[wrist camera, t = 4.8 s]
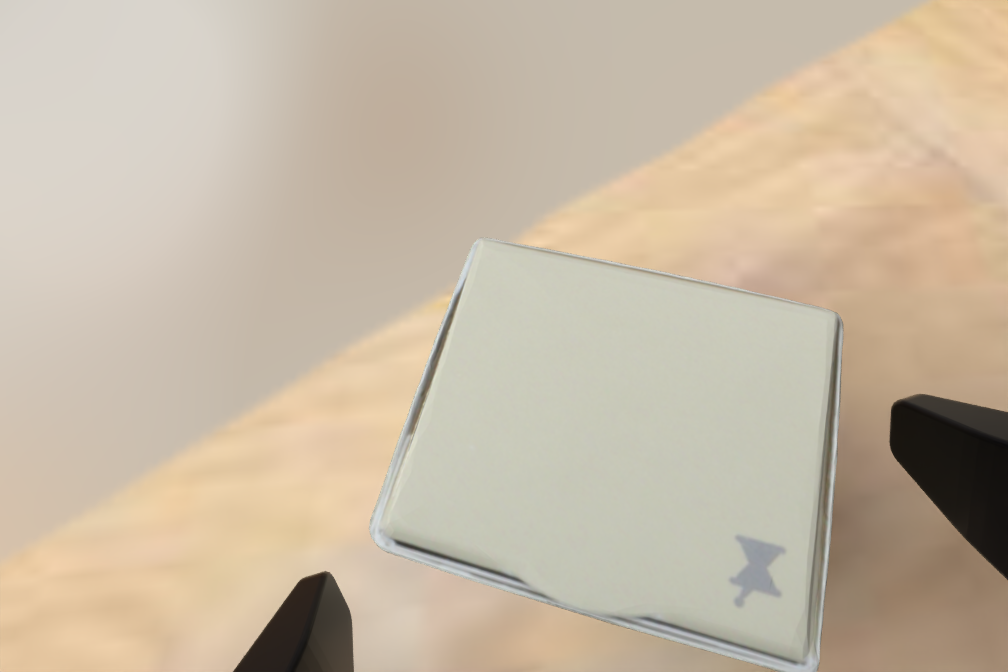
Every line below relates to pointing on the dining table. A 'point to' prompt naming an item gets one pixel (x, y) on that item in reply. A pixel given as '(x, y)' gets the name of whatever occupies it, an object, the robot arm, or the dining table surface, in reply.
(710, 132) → the dining table surface
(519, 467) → the box
